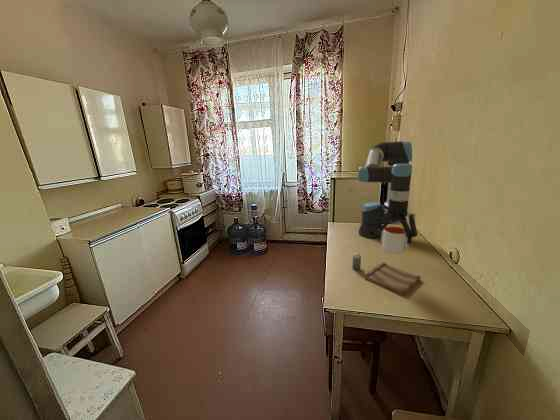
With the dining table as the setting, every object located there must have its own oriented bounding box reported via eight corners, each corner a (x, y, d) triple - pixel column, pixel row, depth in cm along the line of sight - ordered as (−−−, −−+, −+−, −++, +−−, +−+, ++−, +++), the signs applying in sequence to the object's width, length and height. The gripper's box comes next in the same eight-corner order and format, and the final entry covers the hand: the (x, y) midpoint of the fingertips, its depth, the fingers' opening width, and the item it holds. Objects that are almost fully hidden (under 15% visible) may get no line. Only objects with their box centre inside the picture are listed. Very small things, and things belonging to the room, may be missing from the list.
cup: (378, 251, 105) (380, 231, 102) (386, 244, 112) (388, 225, 109) (402, 257, 98) (404, 235, 96) (408, 249, 105) (411, 229, 102)
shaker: (355, 265, 122) (356, 250, 120) (361, 268, 119) (362, 253, 117) (350, 268, 120) (351, 253, 117) (357, 271, 117) (358, 255, 114)
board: (383, 265, 121) (383, 262, 120) (420, 279, 107) (420, 276, 107) (364, 278, 110) (364, 274, 110) (402, 295, 97) (403, 291, 96)
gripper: (370, 197, 105) (367, 241, 111) (423, 205, 88) (416, 257, 94) (378, 194, 110) (375, 237, 115) (431, 202, 92) (424, 251, 98)
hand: (394, 246), depth 104 cm, fingers closed on cup, 10 cm apart
